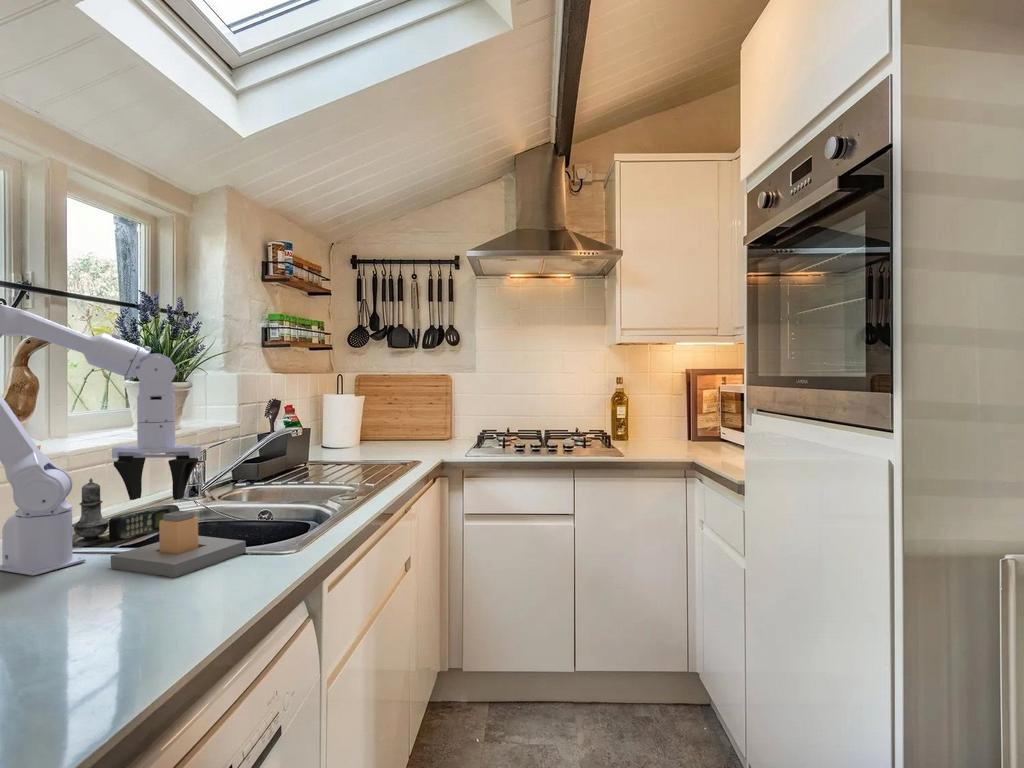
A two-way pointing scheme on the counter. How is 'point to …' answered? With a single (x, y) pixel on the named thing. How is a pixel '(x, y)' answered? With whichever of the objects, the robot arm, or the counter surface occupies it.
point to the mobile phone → (138, 522)
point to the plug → (178, 532)
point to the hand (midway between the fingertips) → (156, 498)
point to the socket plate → (177, 557)
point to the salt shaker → (90, 517)
